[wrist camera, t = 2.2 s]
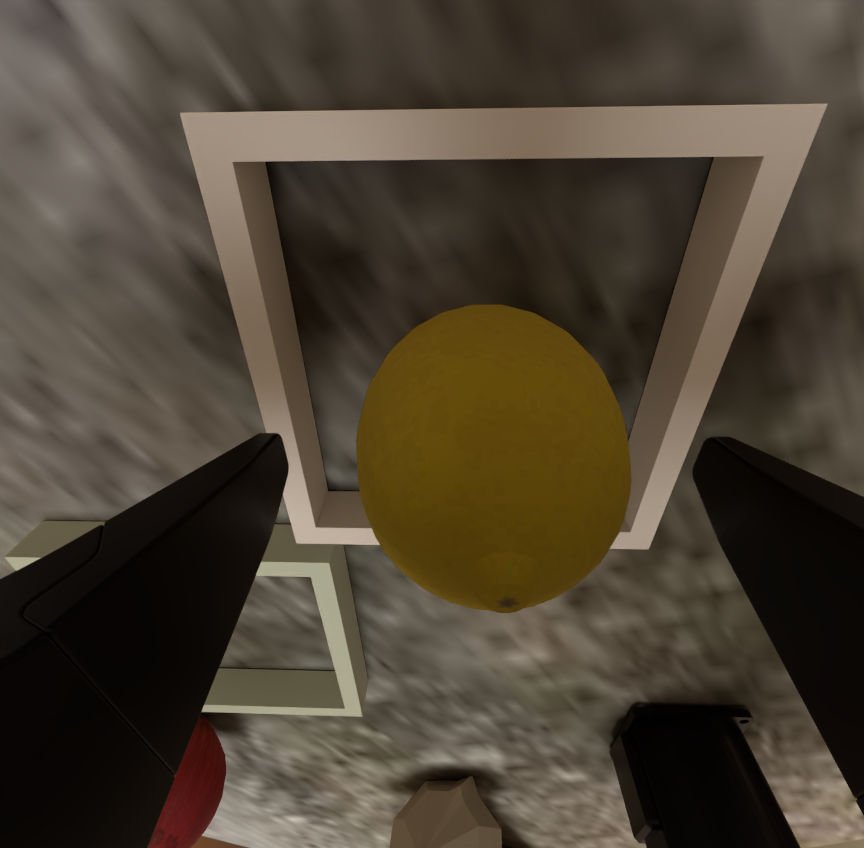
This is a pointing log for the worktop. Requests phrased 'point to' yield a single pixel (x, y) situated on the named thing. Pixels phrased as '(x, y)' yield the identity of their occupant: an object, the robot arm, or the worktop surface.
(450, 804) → the faceted club
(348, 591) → the bin
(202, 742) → the onion
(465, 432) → the lemon
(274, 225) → the bin
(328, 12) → the worktop surface
